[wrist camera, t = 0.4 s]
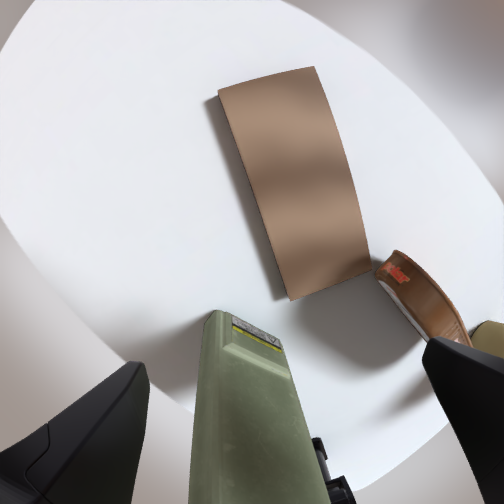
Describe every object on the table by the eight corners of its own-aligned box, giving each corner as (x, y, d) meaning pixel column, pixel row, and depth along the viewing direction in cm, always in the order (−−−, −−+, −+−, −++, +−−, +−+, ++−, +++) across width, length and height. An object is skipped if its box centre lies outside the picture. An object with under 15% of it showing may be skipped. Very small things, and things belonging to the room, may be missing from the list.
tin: (440, 324, 25) (486, 366, 17) (421, 345, 26) (464, 391, 18) (378, 234, 21) (451, 275, 13) (352, 263, 21) (415, 317, 13)
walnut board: (365, 264, 22) (372, 269, 21) (287, 294, 22) (290, 301, 21) (309, 71, 17) (313, 66, 16) (218, 94, 18) (217, 90, 16)
